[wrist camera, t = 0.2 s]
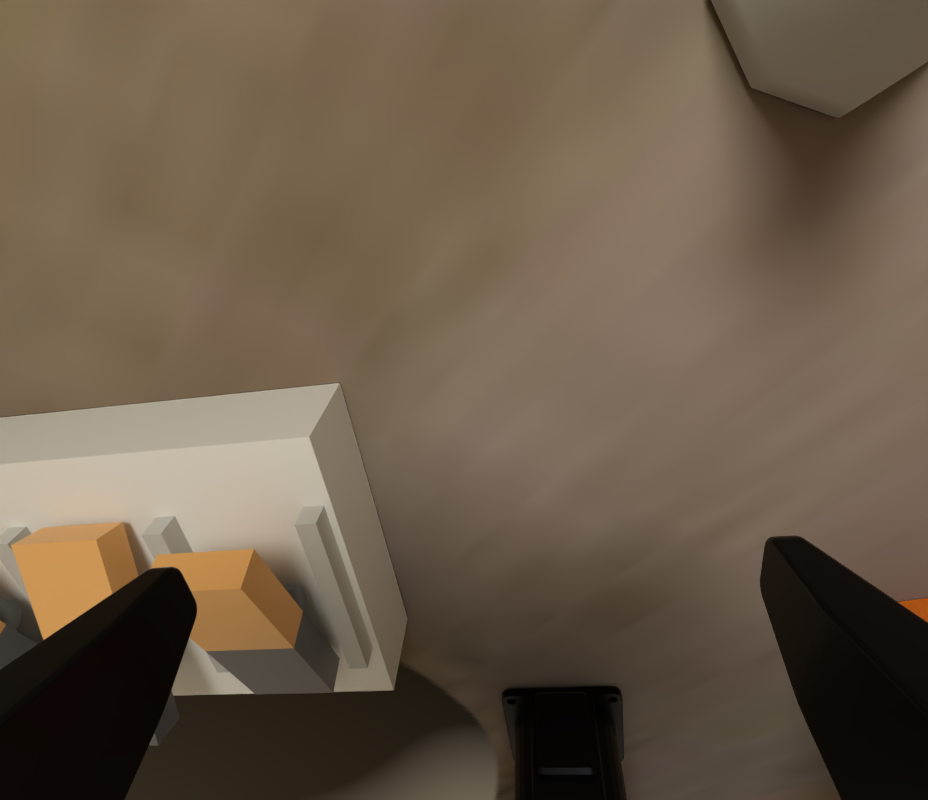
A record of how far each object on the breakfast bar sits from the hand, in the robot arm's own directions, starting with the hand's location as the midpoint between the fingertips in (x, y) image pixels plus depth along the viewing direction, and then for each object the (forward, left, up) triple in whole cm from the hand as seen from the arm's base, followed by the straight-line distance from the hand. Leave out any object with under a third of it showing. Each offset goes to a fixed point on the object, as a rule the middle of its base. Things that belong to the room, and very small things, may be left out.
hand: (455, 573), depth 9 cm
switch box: (-10, +17, -14) cm, 24 cm away
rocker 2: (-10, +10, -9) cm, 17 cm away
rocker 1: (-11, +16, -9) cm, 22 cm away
